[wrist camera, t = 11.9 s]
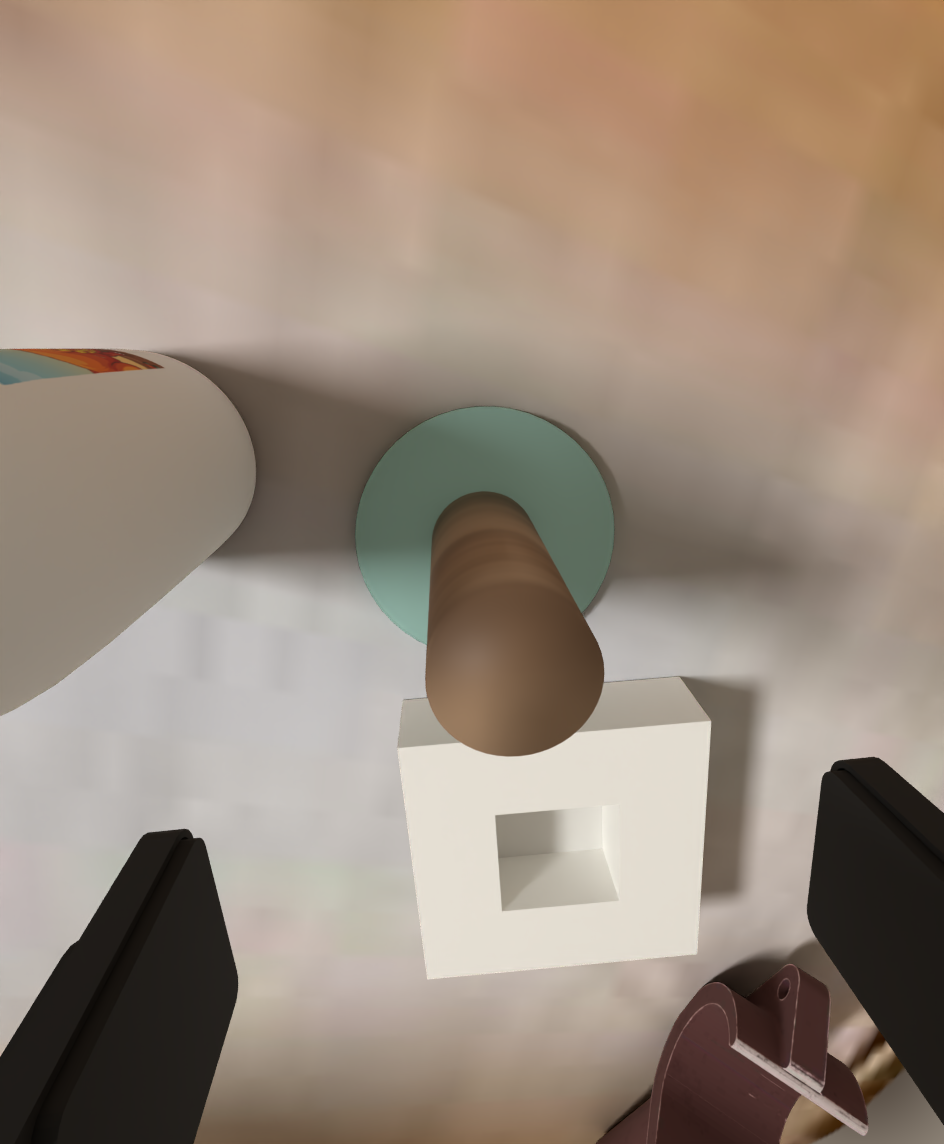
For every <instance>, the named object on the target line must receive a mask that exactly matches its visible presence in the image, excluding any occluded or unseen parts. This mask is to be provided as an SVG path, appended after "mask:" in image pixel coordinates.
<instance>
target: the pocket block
mask: <svg viewBox="0 0 944 1144" xmlns="http://www.w3.org/2000/svg"><path fill="white" fill-rule="evenodd" d="M710 735H711V720H710V718H709V717H708V715H707V714H706V713H705V711H704V710H703V709H702V707H701V706H700V704H699V703H698V702H697V700H696V699H695V698H694V696H693V695H692V693H691V692H690V691H689V689H688V688H687V686H686V685H685V684H684V682H683V681H682V680H681V678H680V677H667V678H655V679H644V680H632V681H620V682H609V683H603V688H602V692H601V696H600V698H599V701H598V704H597V705H596V707H595V709H594V711H593V713H592V714H591V716H590V717H589V719H588V720H587V721H586V723H585V724H584V725H583V726H582V727H581V728H580V729H579V730H578V731H577V732H576V733H574V734H573V735H572V736H571V737H570V738H568V739H567V740H565V741H564V742H562V743H560V744H558V745H556V746H554V747H553V748H550V749H548V750H545V751H542V752H539V753H535V754H531V755H525V756H513V757H506V756H496V755H491V754H486V753H483V752H480V751H477V750H474V749H472V748H470V747H468V746H466V745H464V744H462V743H461V742H459V741H458V740H456V739H455V738H454V737H453V736H451V735H450V734H449V733H448V732H447V731H446V730H445V729H444V728H443V727H442V726H441V724H440V723H439V721H438V720H437V718H436V717H435V715H434V713H433V711H432V709H431V707H430V704H429V701H428V698H422V699H410V700H403V702H402V711H401V720H400V729H399V737H398V746H397V750H398V757H399V765H400V773H401V780H402V788H403V796H404V804H405V811H406V819H407V827H408V834H409V842H410V850H411V857H412V865H413V873H414V880H415V888H416V896H417V904H418V911H419V919H420V927H421V934H422V942H423V950H424V957H425V965H426V973H427V979H437V978H448V977H459V976H469V975H480V974H491V973H501V972H512V971H523V970H533V969H544V968H555V967H566V966H576V965H587V964H598V963H608V962H619V961H630V960H640V959H651V958H662V957H673V956H683V955H694V954H697V947H698V931H699V915H700V898H701V882H702V866H703V849H704V833H705V816H706V800H707V784H708V767H709V751H710Z"/></svg>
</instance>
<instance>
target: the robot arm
mask: <svg viewBox="0 0 944 1144" xmlns="http://www.w3.org/2000/svg"><path fill="white" fill-rule="evenodd" d="M807 915H808V920H809V923H810V926H811V929H812V931H813V933H814V935H815V936H816V938H817V939H818V941H819V942H820V944H821V945H822V947H823V948H824V950H825V951H826V953H827V954H828V956H829V957H830V959H831V960H832V962H833V963H834V964H835V966H836V967H837V969H838V970H839V972H840V973H841V975H842V976H843V978H844V979H845V981H846V982H847V984H848V985H849V987H850V988H851V989H852V991H853V992H854V994H855V995H856V997H857V998H858V1000H859V1001H860V1003H861V1004H862V1006H863V1007H864V1009H865V1010H866V1012H867V1013H868V1015H869V1016H870V1017H871V1019H872V1020H873V1022H874V1023H875V1025H876V1026H877V1028H878V1029H879V1031H880V1032H881V1034H882V1035H883V1037H884V1038H885V1040H886V1041H887V1042H888V1044H889V1045H890V1047H891V1048H892V1050H893V1051H894V1053H895V1054H896V1056H897V1057H898V1059H899V1060H900V1062H901V1063H902V1065H903V1066H904V1067H905V1069H906V1070H907V1072H908V1073H909V1075H910V1076H911V1078H912V1079H913V1081H914V1082H915V1084H916V1085H917V1086H918V1088H919V1089H920V1091H921V1093H922V1094H923V1095H924V1097H925V1098H926V1100H927V1101H928V1103H929V1104H930V1106H931V1107H932V1109H933V1110H934V1112H935V1113H936V1115H937V1116H938V1118H939V1119H940V1120H941V1122H942V1123H943V1125H944V813H943V812H942V811H941V810H939V809H938V808H937V807H936V806H935V805H934V804H932V803H931V802H930V801H929V800H928V799H927V798H926V797H924V796H923V795H922V794H921V793H920V792H919V791H918V790H916V789H915V788H914V787H913V786H912V785H911V784H909V783H908V782H907V781H906V780H905V779H904V778H903V777H901V776H900V775H899V774H898V773H897V772H896V771H894V770H893V769H892V768H891V767H890V766H889V765H888V764H886V763H885V762H884V761H882V760H881V759H879V758H876V757H868V758H858V759H849V760H839V761H837V762H835V763H834V764H833V765H832V767H831V771H830V772H826V773H825V774H824V775H823V778H822V783H821V791H820V800H819V808H818V817H817V826H816V834H815V843H814V851H813V860H812V869H811V877H810V886H809V894H808V903H807ZM237 993H238V975H237V970H236V966H235V962H234V958H233V954H232V950H231V946H230V942H229V938H228V934H227V929H226V925H225V921H224V917H223V913H222V909H221V905H220V901H219V897H218V893H217V889H216V885H215V881H214V877H213V873H212V869H211V865H210V861H209V857H208V853H207V849H206V845H205V843H204V841H203V839H202V838H193V836H192V833H191V832H190V831H189V830H187V829H179V830H170V831H160V832H150V833H147V834H145V835H143V837H142V838H141V839H140V840H139V842H138V844H137V845H136V847H135V848H134V850H133V852H132V853H131V855H130V857H129V858H128V860H127V862H126V863H125V865H124V867H123V868H122V870H121V872H120V873H119V875H118V876H117V878H116V880H115V881H114V883H113V885H112V886H111V888H110V890H109V891H108V893H107V895H106V896H105V898H104V900H103V901H102V903H101V905H100V906H99V908H98V909H97V911H96V913H95V914H94V916H93V918H92V919H91V921H90V923H89V924H88V926H87V928H86V929H85V931H84V933H83V934H82V936H81V937H80V939H79V940H78V941H77V942H76V943H74V944H73V945H71V946H70V947H69V949H68V950H67V951H66V953H65V954H64V955H63V956H62V958H61V959H60V961H59V963H58V964H57V966H56V968H55V969H54V971H53V972H52V974H51V976H50V977H49V979H48V980H47V982H46V984H45V985H44V987H43V989H42V990H41V992H40V993H39V995H38V997H37V998H36V1000H35V1001H34V1003H33V1005H32V1006H31V1008H30V1010H29V1011H28V1013H27V1014H26V1016H25V1018H24V1019H23V1021H22V1023H21V1024H20V1026H19V1027H18V1029H17V1031H16V1032H15V1034H14V1035H13V1037H12V1039H11V1040H10V1042H9V1044H8V1045H7V1047H6V1048H5V1050H4V1052H3V1053H2V1055H1V1057H0V1144H193V1143H194V1140H195V1137H196V1133H197V1130H198V1127H199V1123H200V1120H201V1117H202V1113H203V1110H204V1107H205V1103H206V1100H207V1097H208V1093H209V1090H210V1087H211V1083H212V1080H213V1077H214V1073H215V1070H216V1067H217V1063H218V1060H219V1057H220V1053H221V1050H222V1047H223V1043H224V1040H225V1037H226V1034H227V1030H228V1027H229V1024H230V1020H231V1017H232V1014H233V1010H234V1007H235V1003H236V999H237Z"/></svg>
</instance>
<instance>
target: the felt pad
mask: <svg viewBox="0 0 944 1144" xmlns="http://www.w3.org/2000/svg"><path fill="white" fill-rule="evenodd" d="M480 491H488V492H495V493H499V494H502V495H505V496H507V497H509V498H511V499H513V500H514V501H515V502H517V503H518V504H519V505H520V506H521V507H522V508H523V509H524V510H525V511H526V513H527V514H528V516H529V518H530V519H531V521H532V523H533V525H534V527H535V529H536V530H537V532H538V534H539V536H540V538H541V540H542V541H543V543H544V545H545V547H546V549H547V551H548V552H549V554H550V556H551V558H552V560H553V562H554V564H555V565H556V567H557V569H558V571H559V573H560V575H561V576H562V578H563V580H564V582H565V584H566V586H567V587H568V589H569V591H570V593H571V595H572V597H573V598H574V600H575V602H576V604H577V606H578V608H579V609H580V611H581V613H582V612H583V611H584V610H585V609H586V608H587V607H588V605H589V604H590V602H591V601H592V599H593V598H594V596H595V595H596V593H597V592H598V590H599V588H600V586H601V584H602V582H603V580H604V578H605V575H606V572H607V570H608V567H609V564H610V560H611V555H612V550H613V544H614V516H613V510H612V505H611V500H610V496H609V493H608V491H607V488H606V485H605V482H604V480H603V478H602V476H601V474H600V473H599V471H598V469H597V467H596V466H595V464H594V463H593V461H592V460H591V459H590V457H589V456H588V454H587V453H586V452H585V451H584V450H583V449H582V448H581V447H580V446H579V445H578V444H577V442H576V441H574V440H573V439H572V438H571V437H569V436H568V435H567V434H566V433H564V432H563V431H562V430H560V429H559V428H557V427H556V426H554V425H552V424H551V423H549V422H547V421H546V420H544V419H541V418H539V417H537V416H534V415H532V414H529V413H527V412H523V411H519V410H515V409H512V408H504V407H496V406H475V407H468V408H461V409H457V410H453V411H450V412H446V413H443V414H440V415H438V416H435V417H433V418H431V419H429V420H426V421H424V422H423V423H421V424H419V425H418V426H416V427H414V428H413V429H411V430H410V431H409V432H407V433H406V434H405V435H404V436H402V437H401V438H400V439H399V440H397V441H396V442H395V443H394V445H393V446H392V447H391V448H390V449H389V450H388V451H387V452H386V453H385V454H384V456H383V457H382V459H381V460H380V461H379V463H378V464H377V466H376V467H375V469H374V470H373V472H372V474H371V476H370V478H369V480H368V482H367V484H366V486H365V488H364V491H363V494H362V497H361V500H360V503H359V508H358V512H357V517H356V529H355V540H356V552H357V557H358V562H359V567H360V570H361V573H362V575H363V578H364V581H365V583H366V585H367V587H368V589H369V591H370V593H371V595H372V597H373V598H374V600H375V601H376V603H377V604H378V606H379V607H380V608H381V610H382V611H383V612H384V613H385V614H386V615H387V616H388V618H389V619H390V620H391V621H392V622H393V623H394V624H396V625H397V626H398V627H399V628H400V629H401V630H403V631H404V632H405V633H407V634H408V635H410V636H411V637H413V638H414V639H416V640H417V641H420V642H422V643H424V644H426V645H427V632H428V611H429V589H430V568H431V546H432V534H433V530H434V526H435V524H436V521H437V519H438V518H439V516H440V514H441V513H442V512H443V510H444V509H445V508H446V507H447V506H448V505H449V504H450V503H452V502H453V501H454V500H456V499H458V498H459V497H462V496H464V495H466V494H470V493H473V492H480Z"/></svg>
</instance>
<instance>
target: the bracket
mask: <svg viewBox="0 0 944 1144" xmlns="http://www.w3.org/2000/svg"><path fill="white" fill-rule="evenodd" d="M830 1008H831V996H830V992H829V989H828V988H827V986H826V985H824V984H823V983H821V982H820V981H818V980H817V979H815V978H814V977H812V976H810V975H809V974H807V973H806V972H804V971H803V970H801V969H799V968H798V967H796V966H795V965H793V964H787V965H785V966H784V967H783V968H781V969H780V970H779V971H778V972H777V973H775V974H774V975H773V976H772V977H771V978H769V979H768V980H767V981H766V982H765V983H764V984H762V985H761V986H760V987H759V988H758V989H756V990H755V991H754V992H753V993H752V994H750V995H749V996H748V997H747V998H746V999H745V998H744V997H742V996H741V995H739V994H738V993H736V992H734V991H733V990H731V989H730V988H728V987H727V986H725V985H724V984H722V983H719V982H713V983H710V984H707V985H705V986H704V987H702V988H701V989H700V990H699V991H698V992H697V994H696V995H695V996H694V997H693V999H692V1000H691V1001H690V1002H689V1004H688V1005H687V1006H686V1007H685V1009H684V1010H683V1011H682V1012H681V1014H680V1015H679V1016H678V1018H677V1020H676V1022H675V1023H674V1025H673V1027H672V1029H671V1032H670V1034H669V1036H668V1038H667V1041H666V1043H665V1046H664V1049H663V1051H662V1054H661V1057H660V1060H659V1064H658V1067H657V1071H656V1075H655V1079H654V1084H653V1089H652V1095H651V1098H650V1099H648V1100H647V1101H646V1102H645V1103H644V1104H642V1105H641V1106H640V1107H639V1108H637V1109H636V1110H635V1111H634V1112H632V1113H631V1114H630V1115H629V1116H628V1117H626V1118H625V1119H624V1120H623V1121H621V1122H620V1123H619V1124H618V1125H616V1126H615V1127H614V1128H613V1129H611V1130H610V1131H609V1132H608V1133H607V1134H605V1135H604V1136H603V1137H602V1138H600V1139H599V1140H598V1141H597V1142H596V1144H779V1143H780V1139H781V1135H782V1131H783V1128H784V1125H785V1123H786V1120H787V1118H788V1115H789V1113H790V1111H791V1109H792V1107H793V1106H794V1104H795V1102H796V1101H797V1099H798V1098H799V1097H800V1096H801V1095H803V1096H804V1097H806V1098H807V1099H809V1100H810V1101H812V1102H813V1103H815V1104H816V1105H818V1106H819V1107H821V1108H822V1109H824V1110H825V1111H827V1112H828V1113H830V1114H831V1115H833V1116H834V1117H836V1118H837V1119H838V1120H840V1121H841V1122H843V1123H844V1124H846V1125H847V1126H849V1127H850V1128H852V1129H853V1130H855V1131H856V1132H858V1133H859V1134H861V1135H862V1136H865V1135H866V1134H867V1132H868V1118H867V1110H866V1106H865V1101H864V1098H863V1094H862V1091H861V1089H860V1086H859V1084H858V1082H857V1080H856V1078H855V1076H854V1075H853V1073H852V1072H851V1071H850V1069H849V1068H848V1067H847V1066H846V1065H845V1064H844V1063H842V1062H841V1061H839V1060H838V1059H836V1058H835V1057H833V1056H832V1055H830V1054H829V1053H827V1048H828V1034H829V1021H830Z"/></svg>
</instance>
